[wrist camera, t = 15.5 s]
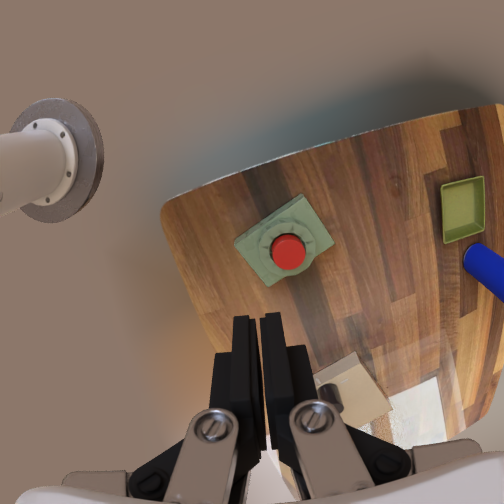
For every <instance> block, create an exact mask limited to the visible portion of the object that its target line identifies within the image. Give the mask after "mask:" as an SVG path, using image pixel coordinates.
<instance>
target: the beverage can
mask: <svg viewBox="0 0 504 504" xmlns="http://www.w3.org/2000/svg"><path fill="white" fill-rule="evenodd" d="M463 262H464V268H465V270H466V271H467V272H468V273H470V274H471V275H472V276H473V277H474V278H476V279H477V280H478V281H479V282H480V283H482V284H483V285H484V286H485V287H486V288H487V289H489V290H490V291H491V292H492V293H493V294H494V295H496V296H497V297H498V298H499V299H500V300H501V301H502V302H503V303H504V258H502V257H501V256H499V255H498V254H496V253H495V252H493V251H492V250H490V249H489V248H487V247H486V246H484V245H483V244H481V243H476V244H473V245H471V246H470V247H469V248H468V249H467V251H466V253H465V255H464V260H463Z"/></svg>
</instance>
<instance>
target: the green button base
mask: <svg viewBox="0 0 504 504" xmlns="http://www.w3.org/2000/svg"><path fill="white" fill-rule="evenodd" d="M287 234H289V235H294V236H296V237H297V238H299V239H300V241H301V242H302V244H303V246H304V249H305V259H304V261H303V263H302V264H301V265H300V266H299V267H297V268H295V269H292V270H285V269H282V268H280V267H278V266H277V265H276V264H275V262H274V260H273V256H272V245H273V243H274V241H275V240H276V239H277V238H278V237H280V236H282V235H287ZM334 244H335V242H334V240H333V239H332V237H331V236H330V234H329V233H328V231H327V230H326V228H325V226H324V225H323V223H322V222H321V220H320V219H319V217H318V216H317V214H316V213H315V211H314V210H313V208H312V207H311V205H310V204H309V202H308V201H307V199H306V198H305V196H304V195H303V194H302V193H301V194H300V195H298V196H297V197H295V198H294V199H292V200H291V201H289V202H288V203H287V204H285V205H284V206H282V207H281V208H279V209H278V210H276V211H275V212H273V213H272V214H271V215H269V216H268V217H266V218H265V219H263V220H262V221H260V222H259V223H258V224H256V225H255V226H253V227H252V228H250V229H249V230H248V231H246V232H245V233H243V234H242V235H240V236H239V237H238V238H236V239H235V243H234V246H235V248H236V249H237V250H238V251H239V253H240V254H241V255H242V256H243V257H244V259H245V260H246V261H247V262H248V264H249V265H250V266H251V267H252V269H253V270H254V271H255V272H256V274H257V275H258V276H259V277H260V278H261V280H262V281H263V282H264V283H265V285H266V286H267V287H270V286H271V285H273V284H274V283H276V282H277V281H279V280H281V279H282V278H284V277H285V276H292V275H297V274H299V273H300V272H302V271H303V270H305V269H307V268H308V267H309V266H310V264H311V262H312V261H313V259H314V257H316V256H317V255H319V254H320V253H322V252H323V251H325V250H326V249H328V248H329V247H331V246H332V245H334Z"/></svg>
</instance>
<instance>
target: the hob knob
mask: <svg viewBox="0 0 504 504" xmlns="http://www.w3.org/2000/svg"><path fill="white" fill-rule="evenodd" d="M317 394H318V399H319V400H324V401H327V402H329V403H331V404H332V405H334V406H335V407H336V409H337V410H338V412H339V414H340V413H342V412H343V410H344V405H343V402H342V399H341V395H340V392H339V389H338V386H337V385H336V384H333V383H328V384H324V385H322V386H321V387H319V388H318V390H317Z"/></svg>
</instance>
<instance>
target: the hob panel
mask: <svg viewBox="0 0 504 504" xmlns="http://www.w3.org/2000/svg"><path fill="white" fill-rule="evenodd" d="M313 378H314V382H315V386H316V390H318V388H319V387H321V386H322V385H324V384H328V383H333V384H336V385H337V386H338V389H339V392H340V395H341V399H342V402H343V405H344V410H343V412H342V413H340V416H341V418H342V420H343V422H344V423H346V424H348V425H350V426H352V427H354V428H356V429H357V428H359V427H361V426H363V425H365V424H367V423H369V422H371V421H373V420H374V419H376V418H378V417H380V416H382V415H384V414H386V413H387V412H389V411H391V410H393V408H392V406H391V404H390V401H389V399H388V398H387V396H386V395H385V393H384V392H383V390H382V389H381V387H380V386H379V384H378V383H377V382H376V380H375V379H374V377H373V376H372V374H371V373H370V371H369V370H368V368H367V367H366V366H365V364H364V363H363V361H362V360H361V358H360V357H359V356H358V354H357V353H356V351H354V352H353V353H351V354H349V355H348V356H346V357H344V358H342V359H341V360H339V361H337V362H335V363H334V364H332V365H330V366H328V367H326V368H325V369H323V370H321V371H319V372H317V373H315V374H314V375H313Z"/></svg>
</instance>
